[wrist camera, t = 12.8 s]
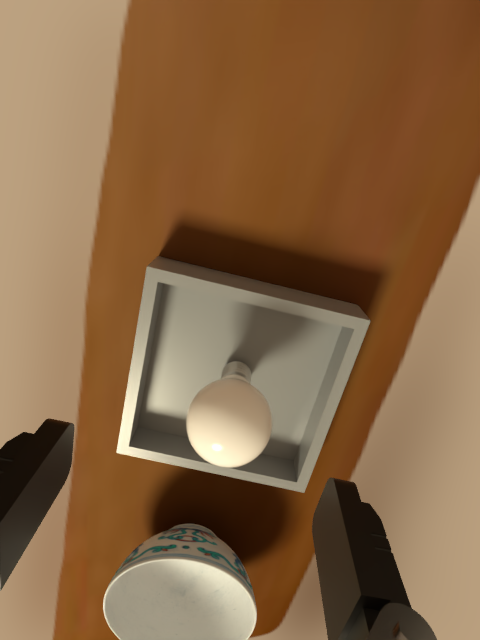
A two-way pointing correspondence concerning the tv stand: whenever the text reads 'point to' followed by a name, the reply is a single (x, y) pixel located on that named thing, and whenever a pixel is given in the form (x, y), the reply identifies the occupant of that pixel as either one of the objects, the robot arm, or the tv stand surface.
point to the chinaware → (181, 590)
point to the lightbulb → (229, 419)
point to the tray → (243, 346)
